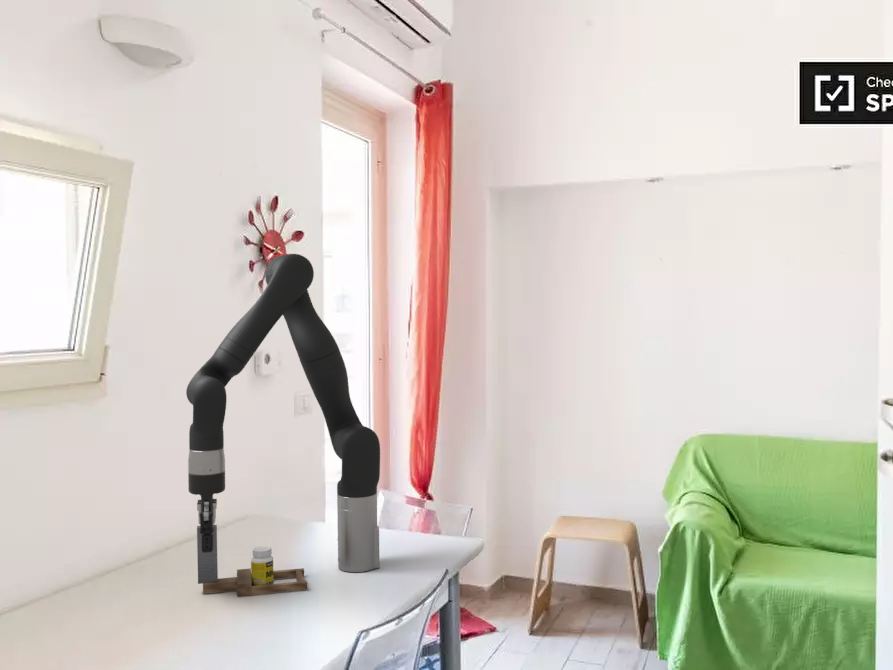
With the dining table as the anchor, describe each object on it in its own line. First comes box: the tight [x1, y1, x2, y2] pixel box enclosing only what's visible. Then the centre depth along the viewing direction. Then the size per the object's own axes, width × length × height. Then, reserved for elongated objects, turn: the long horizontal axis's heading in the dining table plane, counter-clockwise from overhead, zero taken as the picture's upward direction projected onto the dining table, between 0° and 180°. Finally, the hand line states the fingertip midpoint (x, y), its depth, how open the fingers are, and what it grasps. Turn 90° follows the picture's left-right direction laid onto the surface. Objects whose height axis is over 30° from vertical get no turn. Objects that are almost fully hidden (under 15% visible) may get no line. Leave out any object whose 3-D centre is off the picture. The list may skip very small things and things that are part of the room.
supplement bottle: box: [250, 545, 274, 586], centre depth 176 cm, size 5×5×8 cm
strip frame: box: [196, 524, 308, 597], centre depth 176 cm, size 23×10×14 cm, turn 105°
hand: (207, 550), depth 173 cm, fingers closed on strip frame
